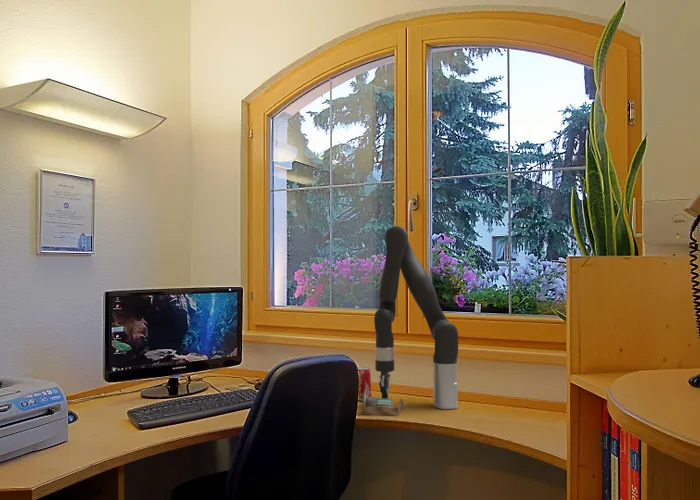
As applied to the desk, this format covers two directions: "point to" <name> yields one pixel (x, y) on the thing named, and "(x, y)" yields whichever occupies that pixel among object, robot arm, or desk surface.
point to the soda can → (364, 382)
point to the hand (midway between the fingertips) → (385, 402)
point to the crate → (384, 402)
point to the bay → (380, 407)
